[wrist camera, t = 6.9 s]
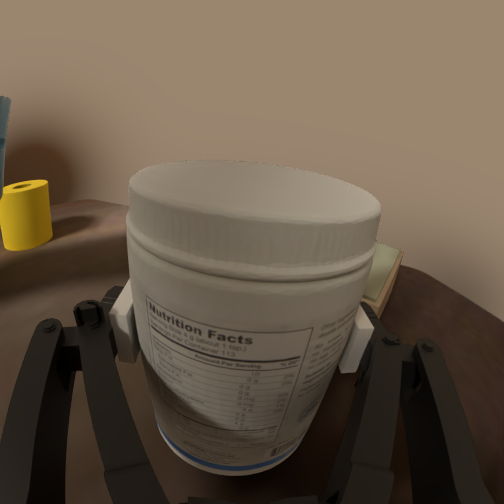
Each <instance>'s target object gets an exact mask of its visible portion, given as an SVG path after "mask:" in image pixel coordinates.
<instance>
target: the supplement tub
mask: <svg viewBox="0 0 504 504" xmlns="http://www.w3.org/2000/svg"><path fill="white" fill-rule="evenodd" d="M381 211H382V209H381V205H380V203H379V202H378V201H377V199H376V198H375V197H374V196H373V195H371V194H370V193H368V192H367V191H365V190H363V189H361V188H359V187H357V186H355V185H352V184H350V183H347V182H344V181H342V180H339V179H336V178H333V177H329V176H326V175H322V174H319V173H314V172H311V171H306V170H302V169H296V168H292V167H286V166H279V165H274V164H266V163H257V162H245V161H230V160H192V161H191V160H190V161H177V162H170V163H164V164H159V165H154V166H151V167H147V168H144V169H142V170H140V171H138V172H137V173H135V174H134V175H133V176H132V178H131V179H130V181H129V211H128V213H127V217H126V225H127V249H128V262H129V273H130V282H131V291H132V299H133V306H134V313H135V320H136V326H137V332H138V338H139V344H140V349H141V355H142V360H143V365H144V370H145V375H146V379H147V384H148V388H149V393H150V397H151V401H152V405H153V409H154V413H155V417H156V420H157V424H158V427H159V430H160V432H161V434H162V436H163V438H164V440H165V441H166V443H167V444H168V445H169V447H170V448H171V449H172V450H173V451H174V452H175V453H176V454H177V455H178V456H179V457H181V458H182V459H183V460H185V461H186V462H188V463H189V464H191V465H193V466H195V467H197V468H199V469H202V470H204V471H207V472H211V473H214V474H220V475H228V476H242V475H250V474H255V473H259V472H262V471H265V470H268V469H270V468H272V467H274V466H276V465H278V464H280V463H281V462H283V461H284V460H285V459H287V458H288V457H289V456H290V455H291V454H292V453H293V452H294V451H295V450H296V448H297V447H298V446H299V444H300V443H301V441H302V439H303V437H304V435H305V434H306V432H307V430H308V428H309V426H310V424H311V422H312V420H313V418H314V416H315V414H316V412H317V409H318V407H319V405H320V403H321V401H322V399H323V397H324V394H325V392H326V390H327V388H328V386H329V383H330V381H331V379H332V376H333V374H334V372H335V369H336V367H337V364H338V362H339V360H340V357H341V355H342V352H343V350H344V347H345V344H346V342H347V339H348V337H349V334H350V331H351V328H352V326H353V323H354V320H355V317H356V314H357V311H358V308H359V305H360V302H361V300H362V297H363V294H364V291H365V287H366V284H367V280H368V277H369V274H370V270H371V267H372V263H373V258H374V254H375V252H376V248H377V242H376V235H377V230H378V226H379V221H380V216H381Z"/></svg>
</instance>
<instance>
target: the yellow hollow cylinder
mask: <svg viewBox="0 0 504 504" xmlns="http://www.w3.org/2000/svg"><path fill="white" fill-rule="evenodd" d="M0 225H1V231H2V237H3V242H4V247H5V248H6V249H8V250H12V251H20V250H27V249H31V248H34V247H37V246H40V245H42V244H44V243H46V242H47V241H49V240H50V239H51V238H52V236H53V232H52V224H51V215H50V205H49V193H48V181H46V180H32V181H26V182H20V183H16V184H12V185H9V186H6V187H3V195H2V198H1V200H0Z"/></svg>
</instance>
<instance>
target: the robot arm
mask: <svg viewBox="0 0 504 504" xmlns="http://www.w3.org/2000/svg"><path fill="white" fill-rule="evenodd" d="M10 104H11V100H10V98H8V97H4V96H3V97H2V96H0V200H1V198H2V195H3V181H4V158H5V146H6V135H7V127H8V119H9V112H10ZM73 312H74V316H75V319H76V323H77V326H76V327H62V324H61V322H60V321H59V320H57V319H53V318H50V319H46V320H43V321H41V322H40V323H39V324H38V325H37V327H36V329H35V331H34V334H33V336H32V339H31V341H30V344H29V346H28V349H27V352H26V354H25V357H24V360H23V363H22V366H21V369H20V372H19V375H18V378H17V381H16V384H15V387H14V391H13V394H12V397H11V401H10V405H9V408H8V412H7V416H6V420H5V425H4V429H3V434H2V439H1V444H0V504H65V469H66V448H67V435H68V425H69V415H70V407H71V400H72V393H73V386H74V380H75V374H76V371H83V378H84V384H85V390H86V395H87V400H88V406H89V410H90V415H91V420H92V424H93V428H94V432H95V436H96V440H97V444H98V447H99V451H100V454H101V458H102V461H103V464H104V468H105V472H104V478H105V481H106V484H107V487H108V490H109V493H110V496H111V498H112V501H113V504H169V502H168V500H167V498H166V496H165V494H164V492H163V490H162V488H161V486H160V484H159V481H158V479H157V477H156V475H155V473H154V471H153V468H152V466H151V464H150V462H149V459H148V457H147V454H146V452H145V450H144V447H143V445H142V442H141V440H140V437H139V434H138V432H137V429H136V426H135V424H134V421H133V418H132V415H131V412H130V409H129V406H128V403H127V400H126V397H125V394H124V391H123V388H122V384H121V381H120V377H119V374H118V370H117V367H116V363H115V357H116V355H117V353H118V357H119V361H121V362H127V363H134V364H135V362H136V359H137V356H138V353H139V351H140V344H139V338H138V332H137V326H136V320H135V313H134V306H133V299H132V291H131V282H130V279H129V280H128V282H127V284H126V285H125V287H120V286H114V287H113V288H111V289H110V290H108V292H107V293H106V295H105V296H104V298H103V299H102V301H101V302H98V301H95V300H86V301H82V302H80V303H78V304H77V305H76V306H75V307H74V310H73ZM359 364H360V366H361V368H362V371H361V374H360V376H359V378H358V380H357V382H356V384H355V387H357V388H356V392H355V396H354V400H353V403H352V407H351V411H350V414H349V418H348V421H347V425H346V428H345V431H344V435H343V438H342V441H341V444H340V447H339V450H338V453H337V456H336V459H335V462H334V465H333V467H332V470H331V473H330V476H329V478H328V481H327V484H326V486H325V488H324V491H323V492H322V494H321V496H320V497H319V499H317V495H311V496H303V497H292V498H285V499H282V500H278V501H275V502H271V503H267V504H389V501H390V496H391V492H392V487H393V483H394V475H395V474H394V471H391V470H390V463H391V457H392V452H393V446H394V439H395V432H396V425H397V417H398V408H399V400H400V405H401V411H402V416H403V422H404V428H405V434H406V441H407V448H408V456H409V464H410V473H411V483H412V495H413V504H495V502H494V501H493V499H492V497H491V495H490V493H489V491H488V490H487V488H486V486H485V484H484V483H483V479H482V475H481V470H480V466H479V462H478V458H477V454H476V450H475V446H474V443H473V439H472V436H471V432H470V429H469V426H468V423H467V420H466V417H465V413H464V410H463V408H462V405H461V402H460V399H459V396H458V393H457V391H456V388H455V385H454V383H453V380H452V378H451V375H450V372H449V370H448V367H447V365H446V363H445V360H444V358H443V355H442V353H441V351H440V349H439V347H438V345H437V344H436V343H435V342H434V341H432V340H430V339H426V338H421V339H419V340H418V341H417V343H416V345H415V346H413V345H407V344H403V343H402V340H401V339H400V338H399V337H398V336H397V335H396V334H393V333H391V332H387V331H386V329H385V328H384V326H383V324H382V323H381V321H380V320H379V318H378V317H377V315H376V314H375V312H374V311H373V309H372V307H371V306H369V305H368V304H367V303H366V302H364V301H361V302H360V305H359V308H358V311H357V314H356V317H355V320H354V323H353V326H352V328H351V331H350V334H349V337H348V339H347V342H346V344H345V347H344V350H343V352H342V355H341V357H340V360H339V362H338V366H339V369H340V371H341V373H353V372H356V370H357V368H358V366H359ZM180 504H239V503H234V502H230V501H226V500H222V499H209V498H197V497H188V502H187V503H180Z"/></svg>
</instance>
